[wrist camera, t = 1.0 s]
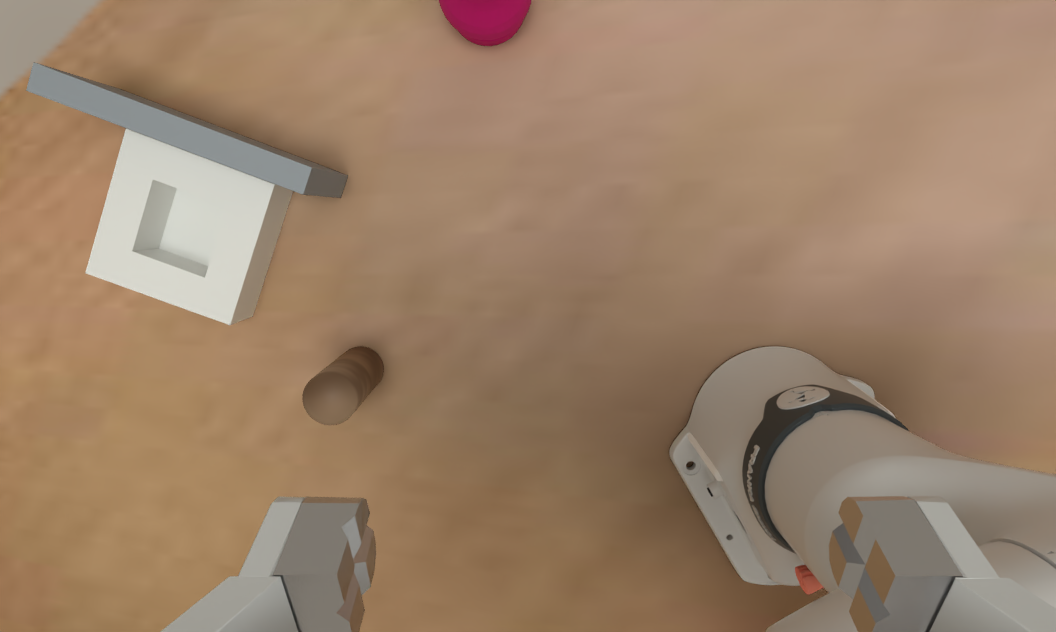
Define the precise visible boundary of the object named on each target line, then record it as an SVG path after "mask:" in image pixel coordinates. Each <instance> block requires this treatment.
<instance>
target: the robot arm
mask: <svg viewBox="0 0 1056 632" xmlns="http://www.w3.org/2000/svg"><path fill="white" fill-rule="evenodd" d="M669 455H670V458H671V460H672V462H673V464H674V465H675V467H676V469H677V471H678V472H679V474H680V476H681V478H682V479H683V481H684V483H685V484H686V486H687V488H688V490H689V491H690V493H691V495H692V497H693V498H694V500H695V502H696V503H697V505H698V507H699V509H700V510H701V512H702V514H703V516H704V517H705V519H706V521H707V522H708V524H709V526H710V528H711V529H712V531H713V533H714V534H715V536H716V538H717V540H718V541H719V543H720V545H721V547H722V548H723V550H724V552H725V553H726V555H727V557H728V559H729V560H730V562H731V564H732V565H733V567H734V569H735V571H736V572H737V573H738V575H739V576H740V577H741V578H742V579H743V580H744V581H746V582H749V583H754V584H760V585H788V586H801V587H802V589H803V591H804V592H805V593H806V594H807V595H809V594H812V593H814V592H816V591H817V590H819V589H822V588H825V589H826V590H827V591H828V592H829V594H827V595H825V596H823V597H821V598H819V599H817V600H815V601H813V602H811V603H809V604H808V605H806V606H804V607H802V608H801V609H799V610H797V611H795V612H794V613H792V614H790V615H788V616H787V617H785V618H783V619H781V620H780V621H778V622H776V623H774V624H773V625H771V626H769V627H768V628H767V629H766V631H765V632H1056V474H1051V473H1045V472H1040V471H1034V470H1029V469H1023V468H1018V467H1012V466H1007V465H1002V464H997V463H992V462H987V461H982V460H978V459H973V458H969V457H965V456H962V455H958V454H955V453H952V452H950V451H947V450H945V449H943V448H941V447H939V446H937V445H935V444H933V443H931V442H929V441H927V440H925V439H923V438H921V437H918V436H916V435H915V434H913V433H911V432H909V431H908V429H907V428H906V427H905V426H904V425H903V424H902V423H901V422H900V421H898V420H897V419H896V418H895V416H894V415H893V413H892V412H890V411H889V410H888V409H887V408H885V407H884V406H883V405H881V404H880V403H879V402H877V401H876V400H875V395H874V391H873V389H872V388H871V387H870V386H869V385H867V384H866V383H865V382H863V381H861V380H859V379H856V378H852V377H848V376H844V375H839V374H838V373H836V372H834V371H833V370H831V369H830V368H829V367H827V366H826V365H825V364H824V363H822V362H821V361H820V360H818V359H817V358H815V357H813V356H812V355H810V354H808V353H805V352H803V351H800V350H797V349H793V348H788V347H779V346H770V347H761V348H756V349H752V350H749V351H746V352H743V353H741V354H739V355H737V356H735V357H733V358H731V359H730V360H728V361H726V362H725V363H724V364H722V365H721V366H720V367H719V368H718V369H716V370H715V371H714V372H713V373H712V375H711V376H710V377H709V378H708V379H707V381H706V382H705V383H704V385H703V386H702V388H701V390H700V392H699V393H698V396H697V398H696V400H695V403H694V406H693V409H692V413H691V416H690V419H689V421H688V424H687V426H686V427H685V428H684V429H683V430H682V432H681V433H680V434H679V435H678V436H677V438H676V439H675V440H674V442H673V443H672V445H671V447H670V451H669ZM689 461H693V462H694V464H693V466H691V467H686V464H687V463H688V462H689ZM369 514H370V512H369V508H368V504H367V500H366V499H364V498H336V497H277V498H276V499H275V501H274V502H273V503H272V504H271V505H270V507H269V510H268V512H267V514H266V516H265V518H264V521H263V523H262V525H261V527H260V529H259V531H258V534H257V536H256V538H255V540H254V542H253V545H252V547H251V549H250V551H249V553H248V555H247V558H246V560H245V562H244V564H243V566H242V569H241V571H240V573H239V575H238V576H229V577H228V578H227V579H225V580H224V581H223V582H222V583H220V584H219V585H218V586H217V587H216V588H214V589H213V590H212V591H211V592H209V593H208V594H207V595H206V596H204V597H203V598H202V599H201V600H199V601H198V602H197V603H196V604H194V605H193V606H192V607H191V608H189V609H188V610H187V611H186V612H184V613H183V614H182V615H181V616H179V617H178V618H177V619H176V620H174V621H173V622H172V623H171V624H169V625H168V626H167V627H166V628H164V629H163V630H162V631H161V632H359V631H360V627H361V623H362V619H363V615H364V611H365V609H364V604H363V600H362V595H363V594H364V593H365V592H366V591H367V590H368V589H369V588H370V587H371V583H372V579H373V575H374V570H375V560H376V542H375V536H374V531H373V530H372V529H371V528H369V527H368V526H367V522H368V518H369ZM727 535H728V536H727Z"/></svg>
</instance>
